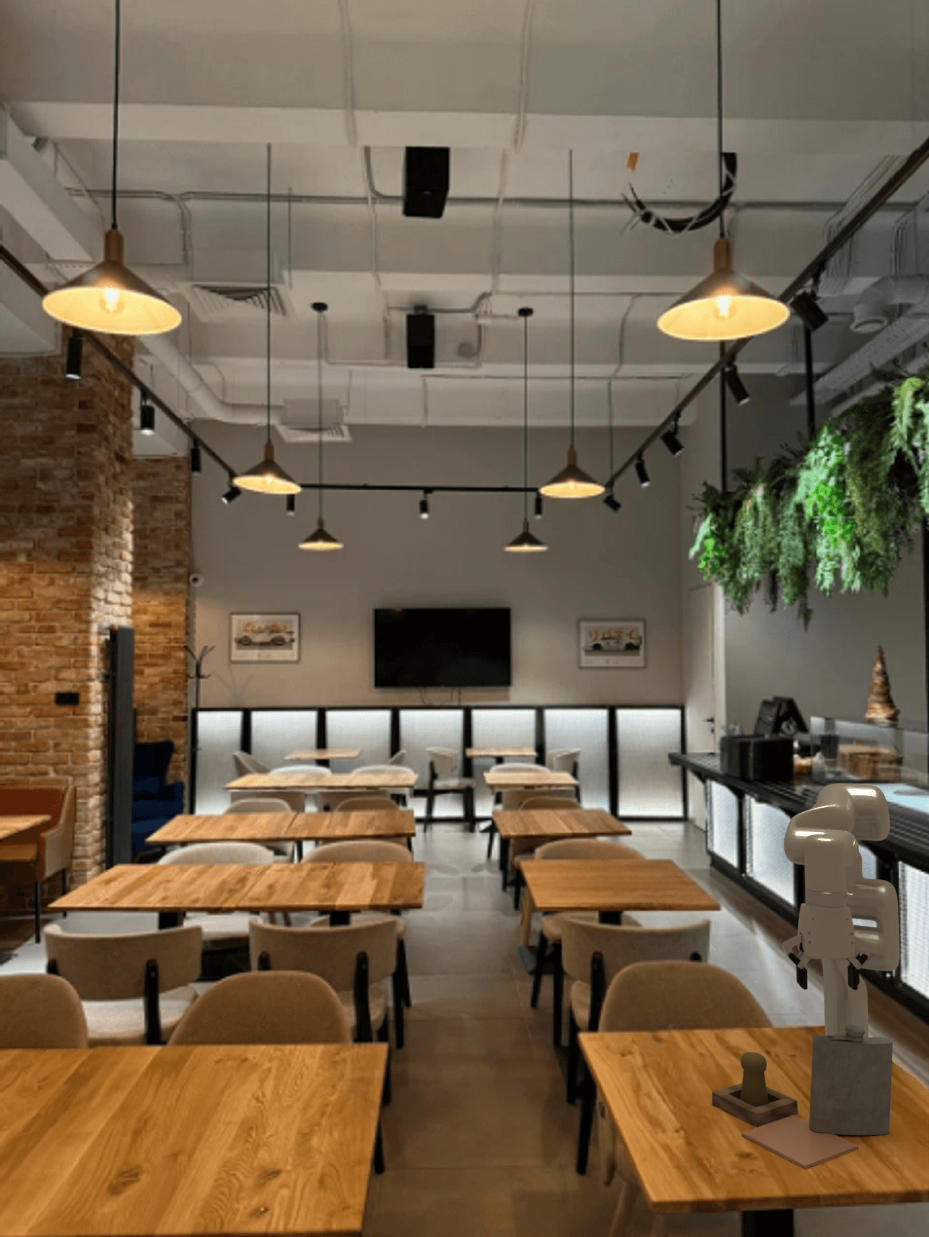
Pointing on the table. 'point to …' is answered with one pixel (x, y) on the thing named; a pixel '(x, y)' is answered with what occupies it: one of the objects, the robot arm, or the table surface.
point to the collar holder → (756, 1116)
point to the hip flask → (851, 1083)
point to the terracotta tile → (799, 1141)
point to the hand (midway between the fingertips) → (827, 987)
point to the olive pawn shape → (754, 1079)
